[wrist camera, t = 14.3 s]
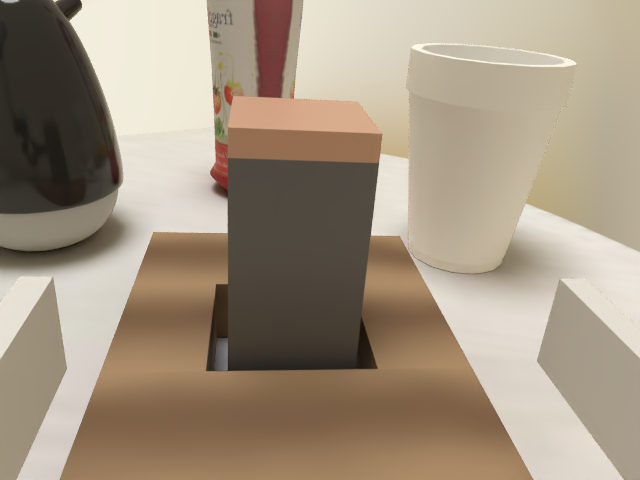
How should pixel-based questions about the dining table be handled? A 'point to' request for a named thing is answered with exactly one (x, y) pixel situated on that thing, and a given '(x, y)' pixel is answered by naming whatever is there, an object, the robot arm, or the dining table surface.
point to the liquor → (250, 59)
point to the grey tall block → (298, 231)
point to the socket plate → (285, 388)
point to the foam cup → (476, 147)
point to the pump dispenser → (52, 131)
